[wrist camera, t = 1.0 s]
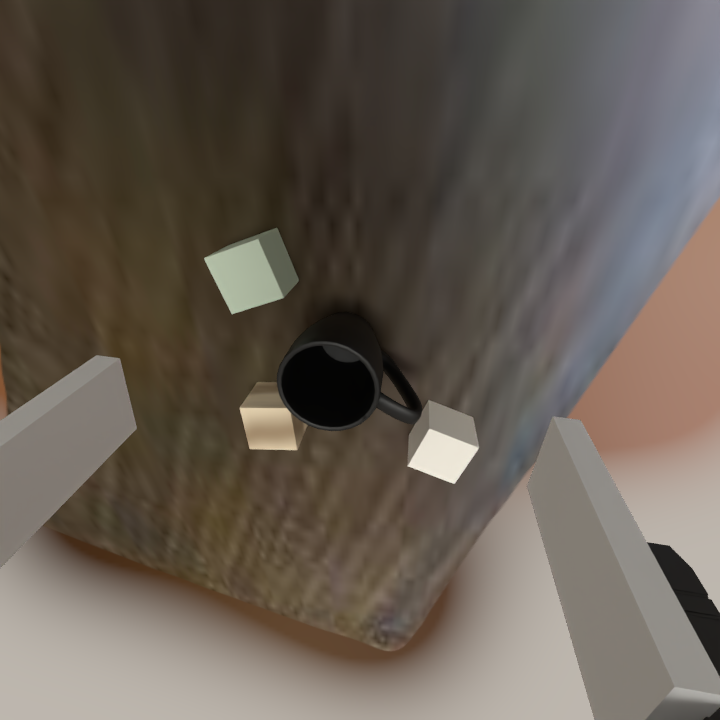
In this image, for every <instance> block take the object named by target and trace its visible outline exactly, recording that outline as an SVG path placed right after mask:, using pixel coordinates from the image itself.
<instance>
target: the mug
mask: <svg viewBox="0 0 720 720" xmlns="http://www.w3.org/2000/svg"><path fill="white" fill-rule="evenodd" d="M383 371H384V372H385V373H386V374H387V376H388V377H389V378H390V380H391V381H392V382H393V384H394V385H395V387H396V388H397V390H398V392H399V393H400V395H401V396H402V398H403V400H404V401H405V403H406V405H407V407H408V408H407V407H405V406H403V405H401V404H399V403H397V402H396V401H394V400H392V399H391V398H389V397H388V396H386V395H384V394H383V393H382V392H381V385H382V378H383ZM277 388H278V392H279V396H280V398H281V400H282V402H283V404H284V405H285V407H286V408H287V409H288V410H289V411H290V413H291V414H292V415H294V416H295V417H296V418H297V419H298V420H300V421H302V422H303V423H305V424H307V425H309V426H312V427H314V428H317V429H321V430H328V431H341V430H346V429H350V428H353V427H355V426H357V425H359V424H361V423H362V422H364V421H365V420H366V419H368V418H369V417H370V415H371V414H372V413H373V412H374V410H375V409H376V408H378V409H380V410H381V411H383V412H384V413H386V414H388V415H390V416H391V417H393V418H395V419H397V420H399V421H402V422H405V423H407V424H415V423H417V422H418V420H419V419H420V417H421V414H422V405H421V402H420V400H419V398H418V396H417V395H416V393H415V391H414V390H413V388H412V387H411V385H410V384H409V382H408V381H407V380H406V378H405V377H404V375H403V374H402V372H401V371H400V369H399V368H398V367H397V365H396V364H395V363H394V361H393V360H392V359H391V358H390V357H389V356H388V355H387V354H386V353H385V352H383V351H382V350H380V347H379V344H378V341H377V339H376V336H375V334H374V333H373V330H372V328H371V326H370V325H369V323H368V322H367V321H366V320H365V319H363V318H362V317H360V316H359V315H356V314H353V313H349V312H340V313H336V314H333V315H331V316H329V317H326V318H324V319H322V320H320V321H318V322H317V323H315V324H313V325H311V326H310V327H309V328H307V329H306V330H305V331H304V332H303V333H302V334H301V335H300V336H299V337H298V338H297V339H296V340H295V342H294V343H293V344H292V346H291V348H290V349H289V351H288V352H287V354H286V355H285V357H284V359H283V360H282V362H281V364H280V366H279V369H278V373H277Z"/></svg>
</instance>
